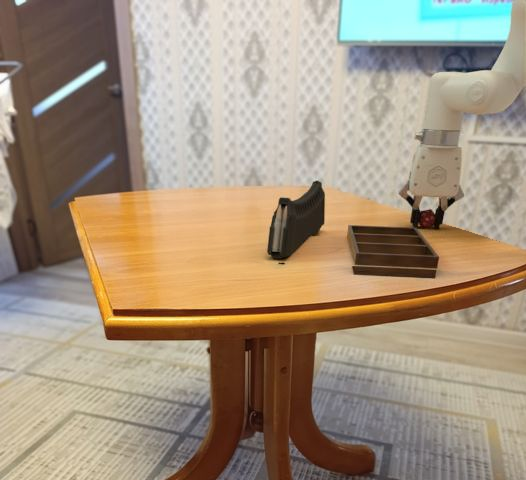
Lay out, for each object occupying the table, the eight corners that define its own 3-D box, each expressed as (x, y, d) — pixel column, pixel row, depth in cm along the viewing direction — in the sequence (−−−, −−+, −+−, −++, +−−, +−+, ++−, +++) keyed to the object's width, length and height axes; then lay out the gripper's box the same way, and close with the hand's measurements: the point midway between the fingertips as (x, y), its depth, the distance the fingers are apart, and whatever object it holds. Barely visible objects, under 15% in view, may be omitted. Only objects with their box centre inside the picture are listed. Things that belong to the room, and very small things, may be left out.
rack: (413, 245, 100) (416, 227, 99) (435, 278, 83) (439, 256, 81) (346, 243, 101) (348, 224, 100) (353, 274, 84) (356, 253, 82)
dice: (412, 227, 114) (414, 209, 113) (424, 224, 117) (427, 207, 115) (426, 230, 112) (429, 212, 110) (438, 228, 114) (441, 210, 112)
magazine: (314, 184, 109) (277, 154, 81) (329, 185, 108) (297, 155, 80) (304, 264, 112) (264, 262, 84) (318, 266, 111) (283, 265, 83)
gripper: (402, 139, 103) (389, 229, 111) (486, 142, 102) (468, 232, 110) (396, 136, 110) (385, 222, 118) (475, 139, 109) (459, 224, 117)
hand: (425, 226), depth 114 cm, fingers closed on dice, 4 cm apart
